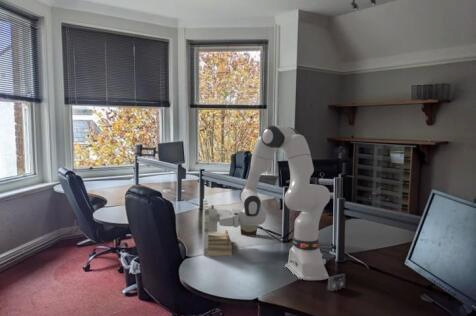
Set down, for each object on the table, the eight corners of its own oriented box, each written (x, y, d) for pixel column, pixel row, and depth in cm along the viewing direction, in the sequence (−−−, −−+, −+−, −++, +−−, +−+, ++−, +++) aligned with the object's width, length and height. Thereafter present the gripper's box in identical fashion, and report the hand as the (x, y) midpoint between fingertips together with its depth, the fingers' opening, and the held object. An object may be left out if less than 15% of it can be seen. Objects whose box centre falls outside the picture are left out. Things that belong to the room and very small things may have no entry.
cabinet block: (216, 231, 195) (217, 206, 194) (207, 231, 195) (207, 206, 193) (216, 228, 200) (216, 204, 199) (207, 228, 200) (207, 204, 198)
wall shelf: (231, 255, 188) (232, 209, 185) (203, 255, 186) (204, 209, 183) (226, 240, 211) (227, 199, 209) (202, 240, 209) (203, 199, 207)
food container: (260, 233, 225) (261, 217, 224) (258, 236, 220) (259, 220, 219) (241, 231, 229) (241, 215, 228) (238, 234, 223) (239, 218, 222)
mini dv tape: (342, 286, 155) (343, 273, 154) (344, 288, 154) (345, 274, 153) (327, 290, 151) (328, 276, 150) (329, 292, 150) (330, 277, 149)
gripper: (233, 206, 208) (209, 206, 206) (238, 216, 188) (211, 216, 186) (233, 217, 209) (208, 217, 207) (237, 228, 189) (210, 228, 187)
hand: (209, 217), depth 197 cm, fingers closed on cabinet block, 5 cm apart
